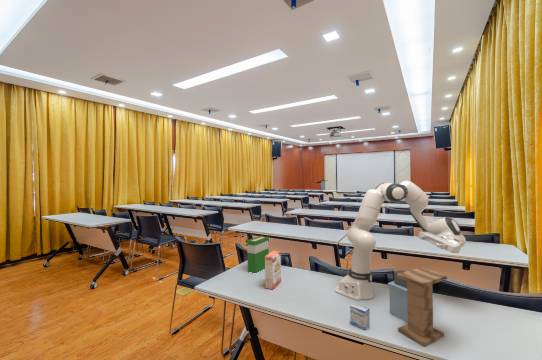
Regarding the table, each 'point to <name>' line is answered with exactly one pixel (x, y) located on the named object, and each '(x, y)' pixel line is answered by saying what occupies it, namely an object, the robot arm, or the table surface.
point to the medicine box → (359, 316)
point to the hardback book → (257, 253)
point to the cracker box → (272, 269)
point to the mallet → (398, 280)
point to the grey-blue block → (398, 301)
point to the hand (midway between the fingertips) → (429, 241)
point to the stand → (420, 305)
